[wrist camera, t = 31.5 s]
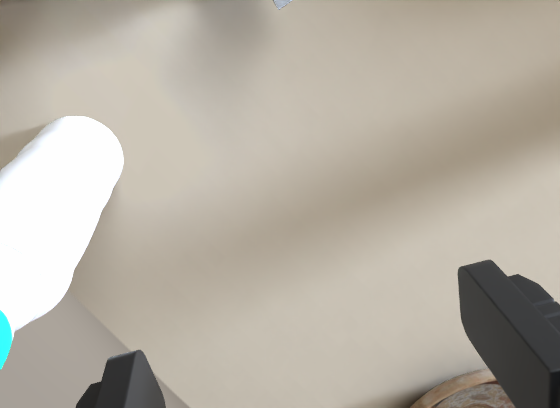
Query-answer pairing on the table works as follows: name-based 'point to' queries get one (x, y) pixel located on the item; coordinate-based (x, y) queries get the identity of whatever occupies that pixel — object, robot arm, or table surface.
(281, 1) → the chopping blade
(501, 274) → the robot arm
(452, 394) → the ceramic bowl
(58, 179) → the water bottle
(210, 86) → the table surface
